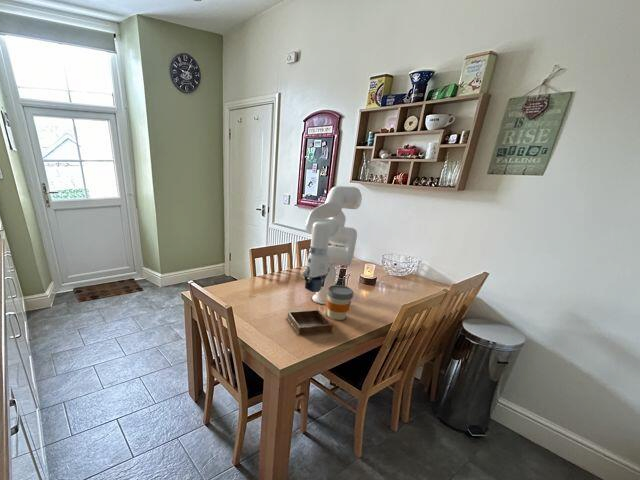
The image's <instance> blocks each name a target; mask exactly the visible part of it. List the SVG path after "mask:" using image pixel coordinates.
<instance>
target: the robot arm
mask: <svg viewBox="0 0 640 480" xmlns="http://www.w3.org/2000/svg"><path fill="white" fill-rule="evenodd" d="M362 196H363V195H362V192H361V190H360V189H359V188H358V187H356V186H345V185H344V186H343V185H335V186H333V187H332V188H331V189H330V190H329V192H328V193H327V197H326V199H325V202H324V203H322V204H320V205H318V206H316V207H315V208H313V209H312V210H311V211H310V213H309V215H308V217H307V220H306V222H305V228H304V229H305V232H306V233H307V234H309V235H311V237H310V238H311V240H310V248H309V249H308V256H307V260H306V265H305V270H303V272H302V273H301V277H302V278H303V280H304V281H305V284H304V289H306V290H307V291H309V290H311V282H310V281H311V280H312V278H313V277H318V276H321V277H322V278H324V280H323V285H322V286H321V290H320V291H319V292H315V294H314V295H313V296H312V301H313V302H315V303H316V304H321V305H327V297H328V295H327V291H328V288H329V287H330V286H333V285H336V279H337V269H336V267H335V265H336V266H341V267H349V266H351V264H352V262H353V258H354V255H355V250H356V244H357V238H358V231H357V229H355V228H354V227H348V226H345V225H346V220H347V218H346V215H345V213H344V211H343V210H342V209H344V210H345V209H346V210H357V209H359V208H360V207H361V204H362V200H363V197H362ZM329 244H330V245H329ZM331 244H332V245H331ZM335 245H337V246H335ZM338 245H339V246H338ZM342 246H344V247H342ZM309 276H310V278H309V279H308V277H309Z"/></svg>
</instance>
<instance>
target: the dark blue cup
mask: <svg viewBox="0 0 640 480" xmlns="http://www.w3.org/2000/svg"><path fill="white" fill-rule="evenodd" d="M309 278H310V276H309V277H308V279H309ZM323 280H324V278H322V277H321V276H318V277H313V278H312V280H311V281H310V282H311V290H308V291H309V292H312V293H316V292H319V291H320V290H321V286H322V285H323Z"/></svg>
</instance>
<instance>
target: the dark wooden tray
mask: <svg viewBox="0 0 640 480" xmlns="http://www.w3.org/2000/svg"><path fill="white" fill-rule="evenodd" d="M287 320H288V321H289V323H290V324H291V325H292V327H293V328H294V330H295V331H296V332H297V334H298V335H308V334H321V333H329V332H330V333H331V332H332V331H333V324H332V323H331V322H330V320H329V319H328V318H327V317H326V316H325V315H324V314H323V313H322V311H320V310H319V309H311V310H310V309H309V310H296V311H295V310H294V311H287Z"/></svg>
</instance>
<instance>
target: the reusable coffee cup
mask: <svg viewBox="0 0 640 480" xmlns="http://www.w3.org/2000/svg"><path fill="white" fill-rule="evenodd" d="M327 295H328V297H327V304H326V308H327V310H326V311H327V316H328V318H330V319H333V320H337V321H341V320H345V319H346V317H347V313H348V312H349V310H350V307H351V304H352V299H353V297H354V290H353V289H352V288H351V287H350V286H347V285H341V284H340V285H339V284H335V285H333V286H330V287H329V288H328V291H327Z"/></svg>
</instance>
